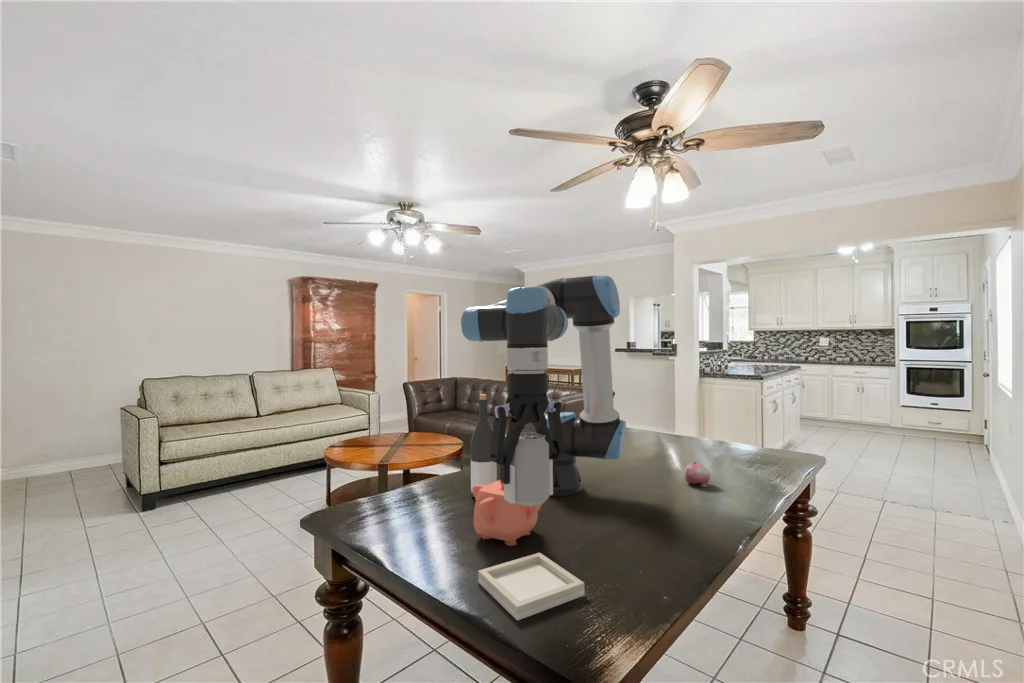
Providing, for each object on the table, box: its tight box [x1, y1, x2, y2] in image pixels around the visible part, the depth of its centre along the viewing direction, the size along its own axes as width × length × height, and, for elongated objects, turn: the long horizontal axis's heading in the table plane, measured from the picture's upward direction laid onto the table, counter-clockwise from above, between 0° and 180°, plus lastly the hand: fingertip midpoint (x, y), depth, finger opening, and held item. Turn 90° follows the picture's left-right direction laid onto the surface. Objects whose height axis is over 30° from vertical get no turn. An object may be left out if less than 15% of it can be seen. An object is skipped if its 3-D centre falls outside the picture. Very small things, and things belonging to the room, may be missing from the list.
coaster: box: [477, 552, 586, 621], centre depth 83 cm, size 14×14×2 cm
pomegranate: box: [684, 461, 711, 488], centre depth 142 cm, size 8×8×7 cm
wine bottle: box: [470, 393, 498, 497], centre depth 135 cm, size 8×8×30 cm
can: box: [511, 432, 550, 506], centre depth 83 cm, size 8×8×12 cm
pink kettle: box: [472, 479, 543, 547], centre depth 107 cm, size 17×16×13 cm
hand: (528, 496), depth 83 cm, fingers closed on can, 7 cm apart
